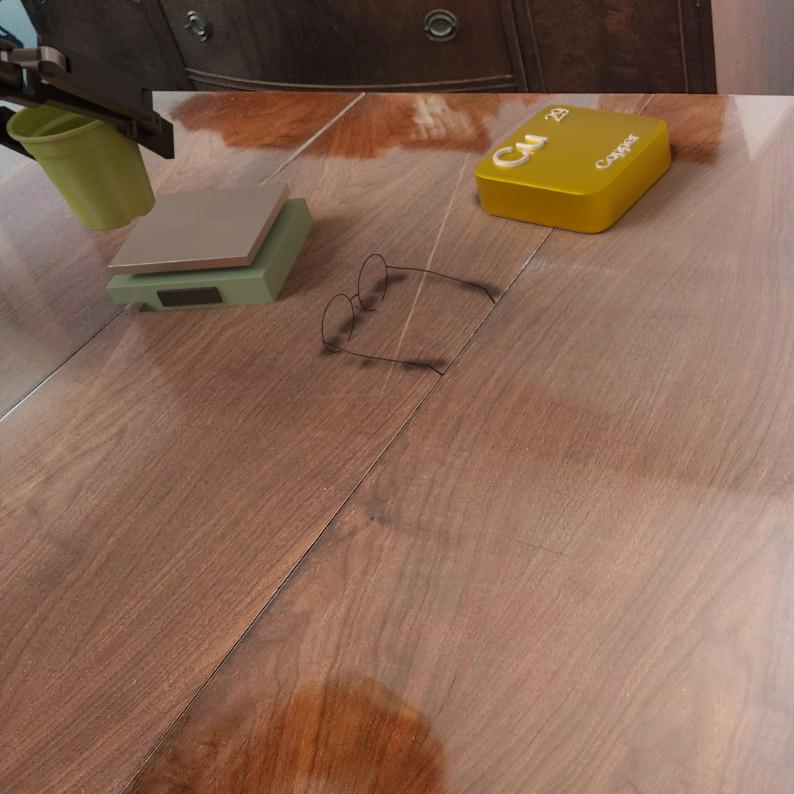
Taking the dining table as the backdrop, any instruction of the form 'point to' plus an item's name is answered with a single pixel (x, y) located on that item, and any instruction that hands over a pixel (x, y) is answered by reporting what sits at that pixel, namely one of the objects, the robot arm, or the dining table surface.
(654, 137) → the element tile
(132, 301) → the scale
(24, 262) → the dining table surface
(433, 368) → the eyeglasses
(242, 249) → the weighing pan
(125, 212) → the plant pot
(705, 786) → the dining table surface
